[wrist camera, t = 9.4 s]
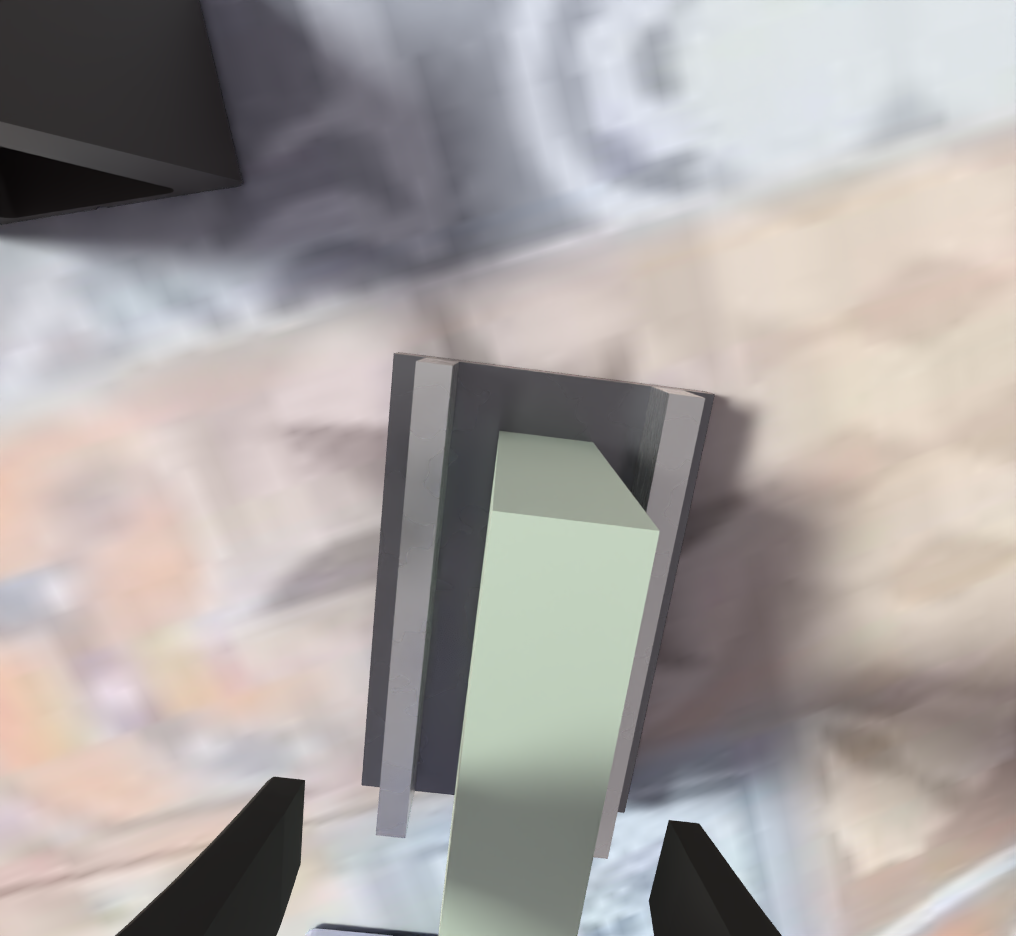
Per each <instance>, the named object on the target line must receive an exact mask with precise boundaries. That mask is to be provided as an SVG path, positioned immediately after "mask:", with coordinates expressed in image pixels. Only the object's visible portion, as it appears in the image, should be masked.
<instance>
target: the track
mask: <svg viewBox="0 0 1016 936" xmlns="http://www.w3.org/2000/svg"><path fill="white" fill-rule="evenodd" d="M714 395H715V394H712V393H708V392H705V391H697V390H689V389H681V388H673V387H666V386H658V385H650V384H642V383H634V382H626V381H619V380H611V379H603V378H595V377H587V376H580V375H572V374H564V373H556V372H548V371H541V370H533V369H525V368H517V367H509V366H501V365H494V364H486V363H478V362H470V361H462V360H455V359H447V358H439V357H431V356H423V355H416V354H408V353H400V352H398V353H394V358H393V372H392V385H391V398H390V412H389V425H388V439H387V452H386V465H385V479H384V492H383V505H382V519H381V532H380V545H379V559H378V572H377V586H376V599H375V612H374V626H373V639H372V652H371V666H370V679H369V692H368V706H367V719H366V733H365V746H364V759H363V773H362V785H364V786H374V787H380V792H379V804H378V816H377V827H376V835H380V836H390V837H400V838H405V836H406V831H407V826H408V821H409V817H410V812H411V807H412V802H413V797H414V792H415V791H422V792H431V793H441V794H450V795H455V787H456V779H457V770H458V761H459V753H460V744H461V736H462V728H463V720H464V712H465V704H466V696H467V688H468V680H469V672H470V664H471V656H472V647H473V639H474V631H475V623H476V615H477V607H478V599H479V591H480V583H481V575H482V567H483V559H484V551H485V543H486V535H487V527H488V518H489V510H490V502H491V494H492V486H493V478H494V470H495V462H496V454H497V446H498V438H499V431H506V432H514V433H522V434H530V435H538V436H546V437H554V438H562V439H570V440H578V441H587V442H593V443H594V444H595V446H596V447H597V448H598V450H599V451H600V452H601V454H602V455H603V456H604V457H605V459H606V460H607V461H608V463H609V464H610V465H611V467H612V468H613V469H614V471H615V472H616V473H617V475H618V476H619V477H620V479H621V480H622V481H623V483H624V484H625V485H626V487H627V488H628V489H629V491H630V492H631V493H632V495H633V496H634V497H635V499H636V500H637V501H638V503H639V504H640V505H641V507H642V508H643V509H644V511H645V512H646V513H647V515H648V516H649V517H650V519H651V520H652V521H653V523H654V524H655V525H656V527H657V528H658V529H659V531H660V532H659V537H658V542H657V547H656V552H655V557H654V562H653V566H652V571H651V576H650V581H649V586H648V591H647V596H646V601H645V606H644V611H643V615H642V620H641V625H640V630H639V635H638V640H637V645H636V650H635V655H634V660H633V665H632V669H631V674H630V679H629V684H628V689H627V694H626V699H625V704H624V709H623V714H622V718H621V723H620V728H619V733H618V738H617V743H616V748H615V753H614V758H613V763H612V767H611V772H610V777H609V782H608V787H607V792H606V797H605V802H604V807H603V812H602V817H601V821H600V826H599V831H598V836H597V841H596V846H595V851H594V856H593V857H596V858H606V859H608V854H609V850H610V845H611V840H612V836H613V831H614V826H615V821H616V817H617V812H623V813H624V812H625V808H626V803H627V798H628V794H629V789H630V784H631V780H632V775H633V771H634V766H635V761H636V757H637V752H638V747H639V743H640V738H641V734H642V729H643V724H644V720H645V715H646V710H647V706H648V701H649V696H650V692H651V687H652V683H653V678H654V673H655V669H656V664H657V659H658V655H659V650H660V645H661V641H662V636H663V632H664V627H665V622H666V618H667V613H668V608H669V604H670V599H671V595H672V590H673V585H674V581H675V576H676V571H677V567H678V562H679V557H680V553H681V548H682V544H683V539H684V534H685V530H686V525H687V520H688V516H689V511H690V506H691V502H692V497H693V493H694V488H695V483H696V479H697V474H698V469H699V465H700V460H701V455H702V451H703V446H704V442H705V437H706V432H707V428H708V423H709V418H710V414H711V409H712V405H713V400H714Z"/></svg>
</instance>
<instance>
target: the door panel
mask: <svg viewBox="0 0 1016 936" xmlns="http://www.w3.org/2000/svg"><path fill="white" fill-rule="evenodd" d="M659 532H660V531H659V529H658V528H657V527H656V525H655V524H654V523H653V521H652V520H651V519H650V517H649V516H648V515H647V513H646V512H645V511H644V509H643V508H642V507H641V505H640V504H639V503H638V501H637V500H636V499H635V497H634V496H633V495H632V493H631V492H630V491H629V489H628V488H627V487H626V485H625V484H624V483H623V481H622V480H621V479H620V477H619V476H618V475H617V473H616V472H615V471H614V469H613V468H612V467H611V465H610V464H609V463H608V461H607V460H606V459H605V457H604V456H603V455H602V454H601V452H600V451H599V450H598V448H597V447H596V446H595V444H594V443H593V442H587V441H578V440H570V439H562V438H554V437H546V436H538V435H530V434H522V433H514V432H506V431H499V438H498V446H497V454H496V462H495V470H494V478H493V486H492V494H491V502H490V510H489V518H488V527H487V535H486V543H485V551H484V559H483V567H482V575H481V583H480V591H479V599H478V607H477V615H476V623H475V631H474V639H473V647H472V656H471V664H470V672H469V680H468V688H467V696H466V704H465V712H464V720H463V728H462V736H461V744H460V753H459V761H458V770H457V779H456V787H455V796H454V805H453V813H452V822H451V831H450V839H449V848H448V857H447V865H446V874H445V883H444V891H443V900H442V909H441V917H440V926H439V935H438V936H577V934H578V929H579V924H580V919H581V915H582V910H583V905H584V900H585V895H586V890H587V885H588V880H589V875H590V870H591V866H592V861H593V856H594V851H595V846H596V841H597V836H598V831H599V826H600V821H601V817H602V812H603V807H604V802H605V797H606V792H607V787H608V782H609V777H610V772H611V767H612V763H613V758H614V753H615V748H616V743H617V738H618V733H619V728H620V723H621V718H622V714H623V709H624V704H625V699H626V694H627V689H628V684H629V679H630V674H631V669H632V665H633V660H634V655H635V650H636V645H637V640H638V635H639V630H640V625H641V620H642V615H643V611H644V606H645V601H646V596H647V591H648V586H649V581H650V576H651V571H652V566H653V562H654V557H655V552H656V547H657V542H658V537H659Z"/></svg>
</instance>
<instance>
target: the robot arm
mask: <svg viewBox="0 0 1016 936" xmlns="http://www.w3.org/2000/svg"><path fill="white" fill-rule="evenodd" d="M304 790H305V780H299V779H290V778H281V777H273V778H271V779H270V780H268V781H267V782H266V783H265V785H264V786H263V787H262V788H261V789H260V790H259V791H258V793H257V794H256V795H255V796H254V797H253V798H252V799H251V800H250V802H249V803H248V804H247V805H246V806H245V807H244V808H243V809H242V811H241V812H240V813H239V814H238V815H237V816H236V817H235V818H234V819H233V820H232V821H231V822H230V824H229V825H228V826H227V827H226V828H225V829H224V830H223V831H222V832H221V833H220V834H219V835H218V836H217V837H216V838H215V840H214V841H213V842H212V843H211V844H210V845H209V846H208V847H207V848H206V849H205V850H204V851H203V852H202V853H201V854H200V855H199V856H198V857H197V858H196V859H195V860H194V861H193V862H192V863H191V864H190V865H189V866H188V867H187V868H186V869H185V870H184V871H183V872H182V873H181V874H180V875H179V876H178V877H177V878H176V879H175V880H174V881H173V882H172V883H171V884H170V885H169V886H168V887H167V888H166V889H165V890H164V891H163V892H162V893H160V894H159V895H158V896H157V897H156V898H155V899H154V900H153V901H152V902H151V903H150V904H149V905H148V906H147V907H146V908H145V909H143V910H142V911H141V912H140V913H139V914H138V915H137V916H136V917H135V918H134V919H133V920H132V921H131V922H130V923H129V924H128V925H126V926H125V927H124V928H123V929H122V930H121V931H120V932H119V933H118V934H116V935H115V936H276V935H277V933H278V930H279V928H280V925H281V922H282V919H283V916H284V913H285V910H286V907H287V904H288V901H289V898H290V895H291V892H292V889H293V886H294V883H295V880H296V876H297V873H298V870H299V867H300V863H301V845H302V826H303V808H304ZM649 905H650V911H651V918H652V924H653V931H654V936H782V935H781V934H780V933H779V932H778V930H777V929H776V928H775V926H774V925H773V924H772V922H771V921H770V920H769V918H768V917H767V916H766V915H765V913H764V912H763V911H762V909H761V908H760V907H759V905H758V904H757V903H756V901H755V900H754V898H753V897H752V896H751V894H750V893H749V892H748V890H747V889H746V888H745V886H744V885H743V883H742V882H741V881H740V879H739V878H738V877H737V875H736V874H735V872H734V871H733V870H732V868H731V867H730V866H729V864H728V863H727V861H726V860H725V859H724V857H723V856H722V854H721V853H720V852H719V850H718V849H717V847H716V846H715V845H714V843H713V842H712V841H711V839H710V838H709V836H708V835H707V834H706V832H705V831H704V830H703V828H702V827H701V825H700V824H699V823H690V822H681V821H672V820H669V822H668V826H667V830H666V834H665V838H664V842H663V846H662V850H661V854H660V858H659V862H658V866H657V870H656V874H655V878H654V882H653V886H652V890H651V894H650V898H649ZM305 936H391V935H380V934H370V933H360V932H349V931H339V930H329V929H318V928H316V929H311V930H309V931H308V932H307V933H306V935H305Z"/></svg>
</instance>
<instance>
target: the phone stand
mask: <svg viewBox="0 0 1016 936" xmlns="http://www.w3.org/2000/svg"><path fill="white" fill-rule="evenodd" d="M242 184H243V182H242V178H241V173H240V169H239V165H238V161H237V157H236V152H235V148H234V144H233V140H232V136H231V131H230V127H229V123H228V119H227V115H226V110H225V106H224V102H223V98H222V93H221V89H220V85H219V81H218V77H217V72H216V68H215V64H214V60H213V56H212V51H211V47H210V43H209V39H208V35H207V30H206V26H205V22H204V18H203V14H202V9H201V5H200V1H199V0H0V225H2V224H8V223H14V222H20V221H27V220H33V219H39V218H45V217H51V216H58V215H64V214H70V213H76V212H82V211H89V210H95V209H97V207H113V206H120V205H126V204H132V203H138V202H145V201H151V200H157V199H163V198H169V197H176V196H182V195H188V194H194V193H200V192H207V191H213V190H219V189H225V188H231V187H237V186H241V185H242Z"/></svg>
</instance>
